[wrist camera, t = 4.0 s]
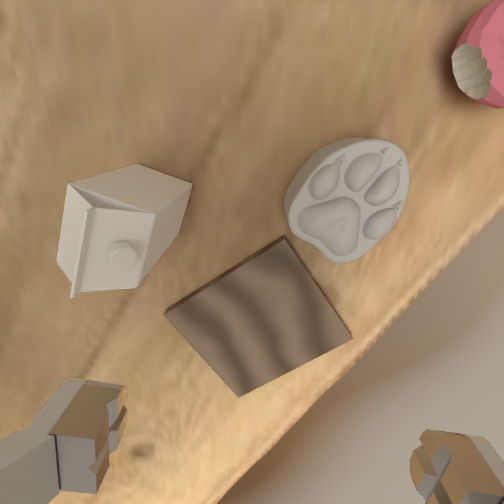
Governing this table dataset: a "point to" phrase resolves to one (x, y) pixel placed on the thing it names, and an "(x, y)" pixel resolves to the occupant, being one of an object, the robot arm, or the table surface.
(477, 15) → the apple
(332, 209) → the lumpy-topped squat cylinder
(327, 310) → the walnut board
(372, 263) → the table surface
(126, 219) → the milk carton
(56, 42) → the table surface
